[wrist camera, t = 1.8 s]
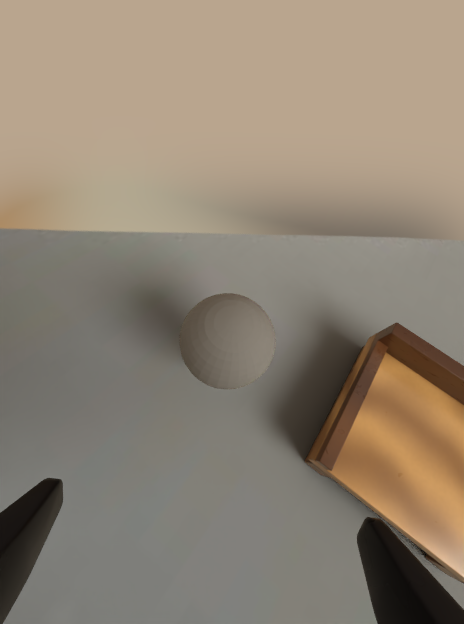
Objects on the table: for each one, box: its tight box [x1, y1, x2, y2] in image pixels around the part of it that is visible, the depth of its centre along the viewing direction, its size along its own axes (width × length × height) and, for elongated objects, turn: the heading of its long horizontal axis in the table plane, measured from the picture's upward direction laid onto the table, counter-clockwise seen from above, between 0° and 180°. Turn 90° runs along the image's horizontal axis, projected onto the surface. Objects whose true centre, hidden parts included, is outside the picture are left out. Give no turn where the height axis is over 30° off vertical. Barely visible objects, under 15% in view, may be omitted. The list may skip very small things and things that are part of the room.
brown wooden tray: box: [305, 323, 464, 583], centre depth 20 cm, size 12×13×6 cm
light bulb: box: [180, 294, 276, 389], centre depth 19 cm, size 6×6×10 cm
